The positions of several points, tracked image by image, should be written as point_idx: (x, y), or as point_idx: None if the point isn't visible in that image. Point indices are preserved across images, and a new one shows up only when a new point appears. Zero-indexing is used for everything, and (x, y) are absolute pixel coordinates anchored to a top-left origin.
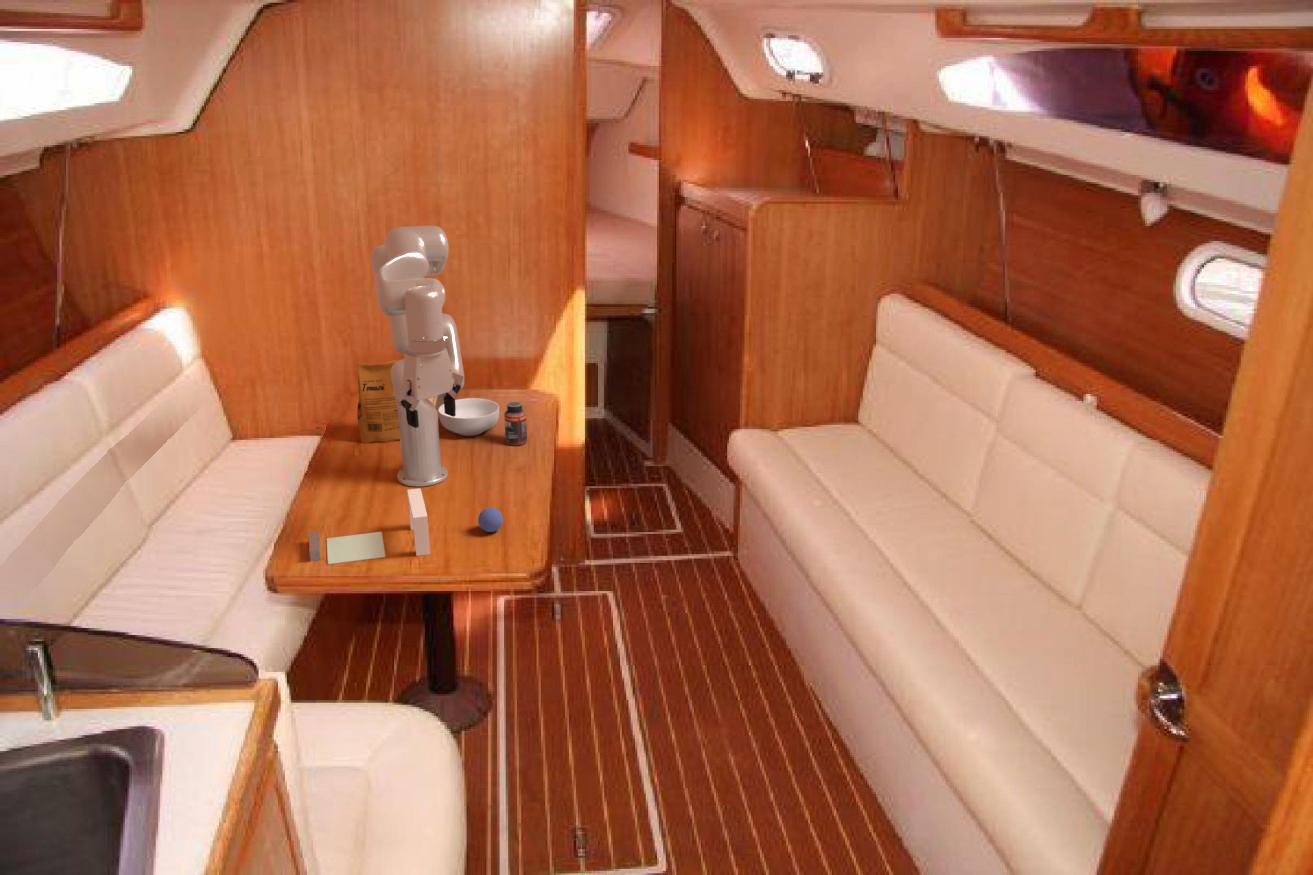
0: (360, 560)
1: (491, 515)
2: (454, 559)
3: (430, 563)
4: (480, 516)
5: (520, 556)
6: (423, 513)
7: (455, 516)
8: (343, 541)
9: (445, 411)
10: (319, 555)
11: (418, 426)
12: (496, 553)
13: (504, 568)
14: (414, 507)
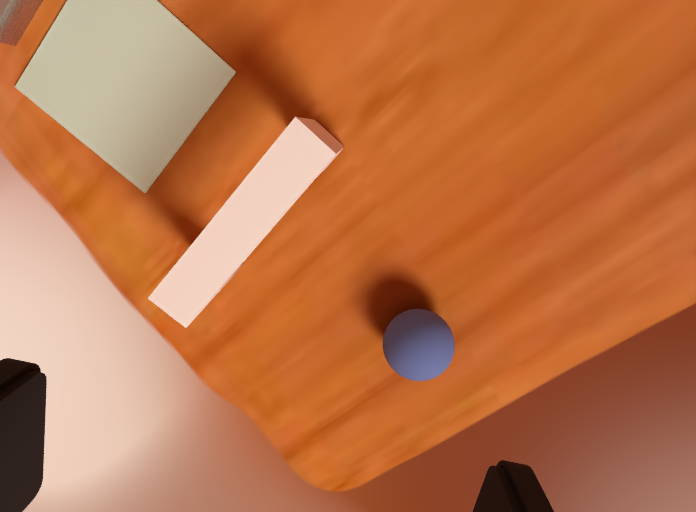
0: (91, 147)
1: (403, 373)
2: (246, 343)
3: None
4: (392, 339)
5: (345, 453)
6: (191, 304)
7: (436, 191)
8: (122, 15)
9: (495, 493)
10: (2, 41)
11: (39, 486)
12: (326, 404)
13: (282, 454)
14: (203, 249)
